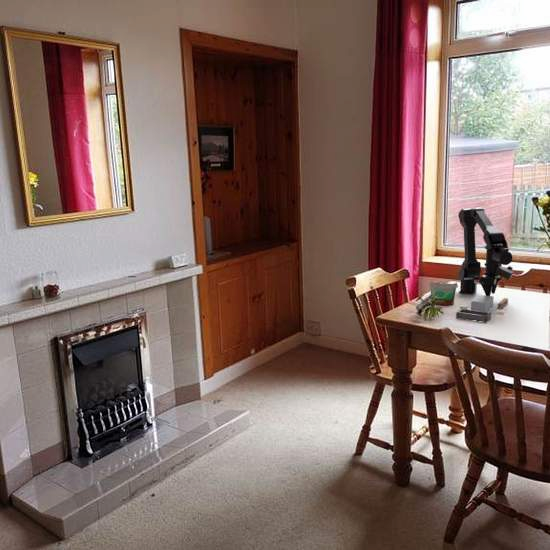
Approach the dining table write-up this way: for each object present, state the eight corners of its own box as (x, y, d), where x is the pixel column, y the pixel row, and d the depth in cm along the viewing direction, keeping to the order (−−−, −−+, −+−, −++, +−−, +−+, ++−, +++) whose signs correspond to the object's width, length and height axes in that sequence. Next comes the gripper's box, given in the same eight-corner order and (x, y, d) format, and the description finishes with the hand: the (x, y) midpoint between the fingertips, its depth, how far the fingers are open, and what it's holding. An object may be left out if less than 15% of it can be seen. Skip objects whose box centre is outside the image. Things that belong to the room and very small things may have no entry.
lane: (471, 304, 243) (472, 300, 243) (478, 299, 252) (478, 294, 252) (501, 308, 236) (501, 304, 236) (507, 302, 245) (507, 298, 245)
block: (470, 312, 233) (471, 300, 232) (478, 305, 242) (479, 294, 241) (485, 314, 229) (486, 302, 228) (492, 307, 239) (493, 296, 238)
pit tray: (456, 318, 225) (456, 312, 224) (460, 314, 230) (460, 308, 229) (486, 322, 218) (487, 316, 217) (490, 318, 223) (491, 312, 222)
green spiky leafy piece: (419, 327, 231) (417, 300, 236) (446, 325, 227) (443, 297, 232) (414, 319, 221) (412, 291, 226) (442, 316, 217) (440, 288, 222)
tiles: (459, 308, 238) (459, 306, 238) (461, 306, 240) (461, 304, 240) (503, 314, 228) (503, 312, 228) (505, 312, 230) (505, 310, 230)
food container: (426, 306, 243) (427, 283, 241) (427, 302, 248) (428, 280, 246) (456, 308, 239) (457, 285, 237) (456, 304, 245) (458, 282, 242)
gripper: (507, 266, 228) (505, 303, 232) (517, 258, 243) (515, 293, 247) (479, 263, 234) (477, 299, 238) (490, 256, 249) (488, 290, 253)
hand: (490, 295), depth 244 cm, fingers open, 8 cm apart
